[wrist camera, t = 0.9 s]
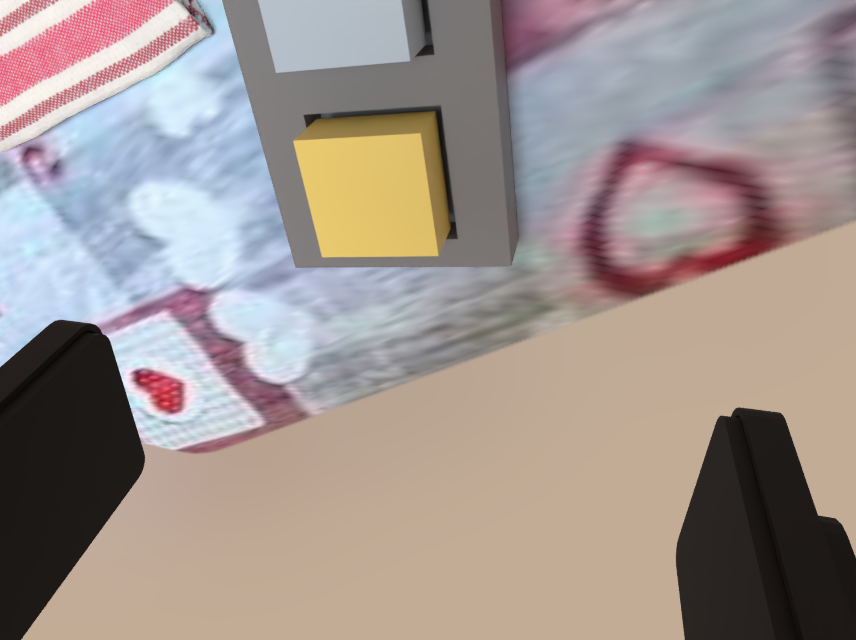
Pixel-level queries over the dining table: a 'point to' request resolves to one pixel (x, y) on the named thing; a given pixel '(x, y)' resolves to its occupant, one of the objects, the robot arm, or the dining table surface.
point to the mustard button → (375, 185)
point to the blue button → (342, 32)
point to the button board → (392, 94)
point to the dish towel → (83, 55)
